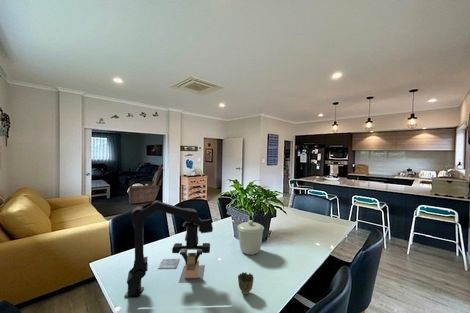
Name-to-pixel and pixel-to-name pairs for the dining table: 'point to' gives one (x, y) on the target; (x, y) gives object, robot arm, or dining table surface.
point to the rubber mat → (192, 280)
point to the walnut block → (191, 261)
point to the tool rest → (168, 264)
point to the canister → (250, 237)
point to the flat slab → (192, 271)
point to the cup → (245, 282)
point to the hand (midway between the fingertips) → (191, 264)
